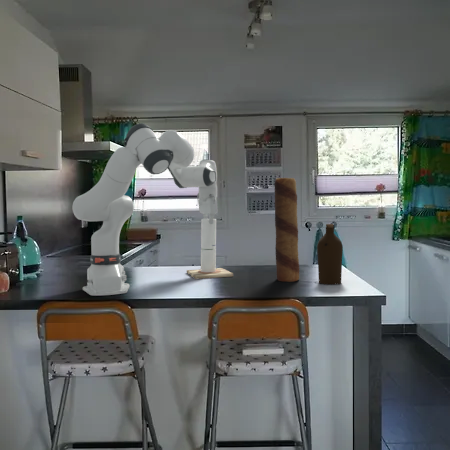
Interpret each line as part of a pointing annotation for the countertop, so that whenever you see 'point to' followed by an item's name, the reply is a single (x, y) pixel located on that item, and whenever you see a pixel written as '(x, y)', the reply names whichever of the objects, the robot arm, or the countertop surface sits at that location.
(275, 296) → the countertop surface
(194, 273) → the seat board
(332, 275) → the olive oil
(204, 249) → the cylindrical container
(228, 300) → the countertop surface
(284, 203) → the wafer roll
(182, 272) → the countertop surface
